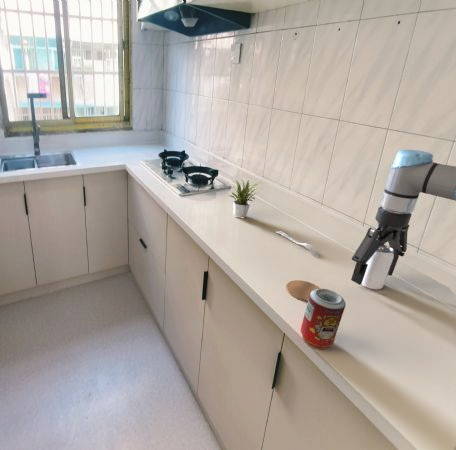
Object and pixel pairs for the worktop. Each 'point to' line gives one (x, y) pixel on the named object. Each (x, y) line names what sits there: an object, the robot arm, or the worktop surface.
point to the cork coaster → (300, 289)
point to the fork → (299, 243)
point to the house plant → (242, 199)
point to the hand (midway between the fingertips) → (371, 277)
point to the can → (378, 268)
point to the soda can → (322, 318)
